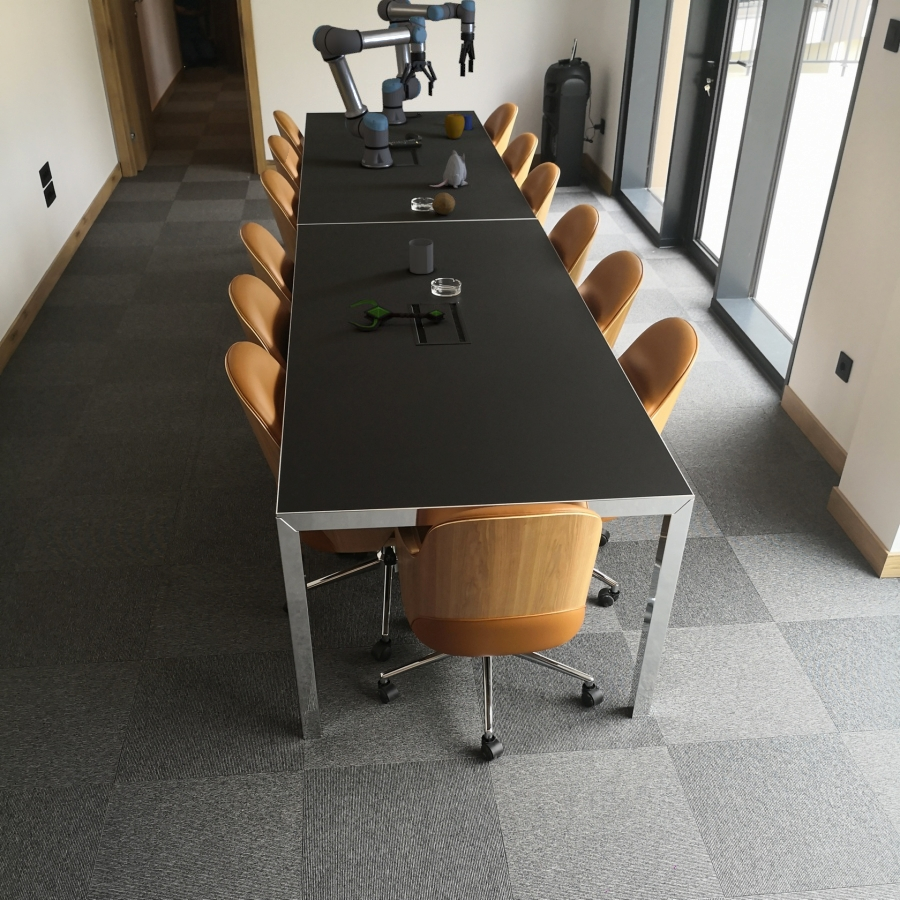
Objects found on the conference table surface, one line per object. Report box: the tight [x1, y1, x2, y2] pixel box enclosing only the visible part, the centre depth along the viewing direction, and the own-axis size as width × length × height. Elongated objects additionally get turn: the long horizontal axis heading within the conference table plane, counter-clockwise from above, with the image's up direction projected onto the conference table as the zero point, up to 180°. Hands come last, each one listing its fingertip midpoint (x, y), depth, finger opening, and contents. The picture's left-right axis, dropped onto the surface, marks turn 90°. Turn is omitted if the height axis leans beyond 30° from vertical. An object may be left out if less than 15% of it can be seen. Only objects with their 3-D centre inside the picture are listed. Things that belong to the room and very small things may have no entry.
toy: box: [428, 149, 468, 189], centre depth 390 cm, size 9×24×15 cm, turn 137°
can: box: [461, 113, 473, 131], centre depth 493 cm, size 6×6×7 cm
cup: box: [408, 237, 434, 275], centre depth 305 cm, size 8×8×10 cm
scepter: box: [348, 298, 446, 331], centre depth 269 cm, size 6×13×30 cm
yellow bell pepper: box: [444, 113, 465, 140], centre depth 472 cm, size 11×11×13 cm
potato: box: [431, 192, 456, 216], centre depth 360 cm, size 10×14×8 cm
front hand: (418, 97), depth 440 cm, fingers open, 13 cm apart
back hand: (466, 74), depth 480 cm, fingers open, 13 cm apart
